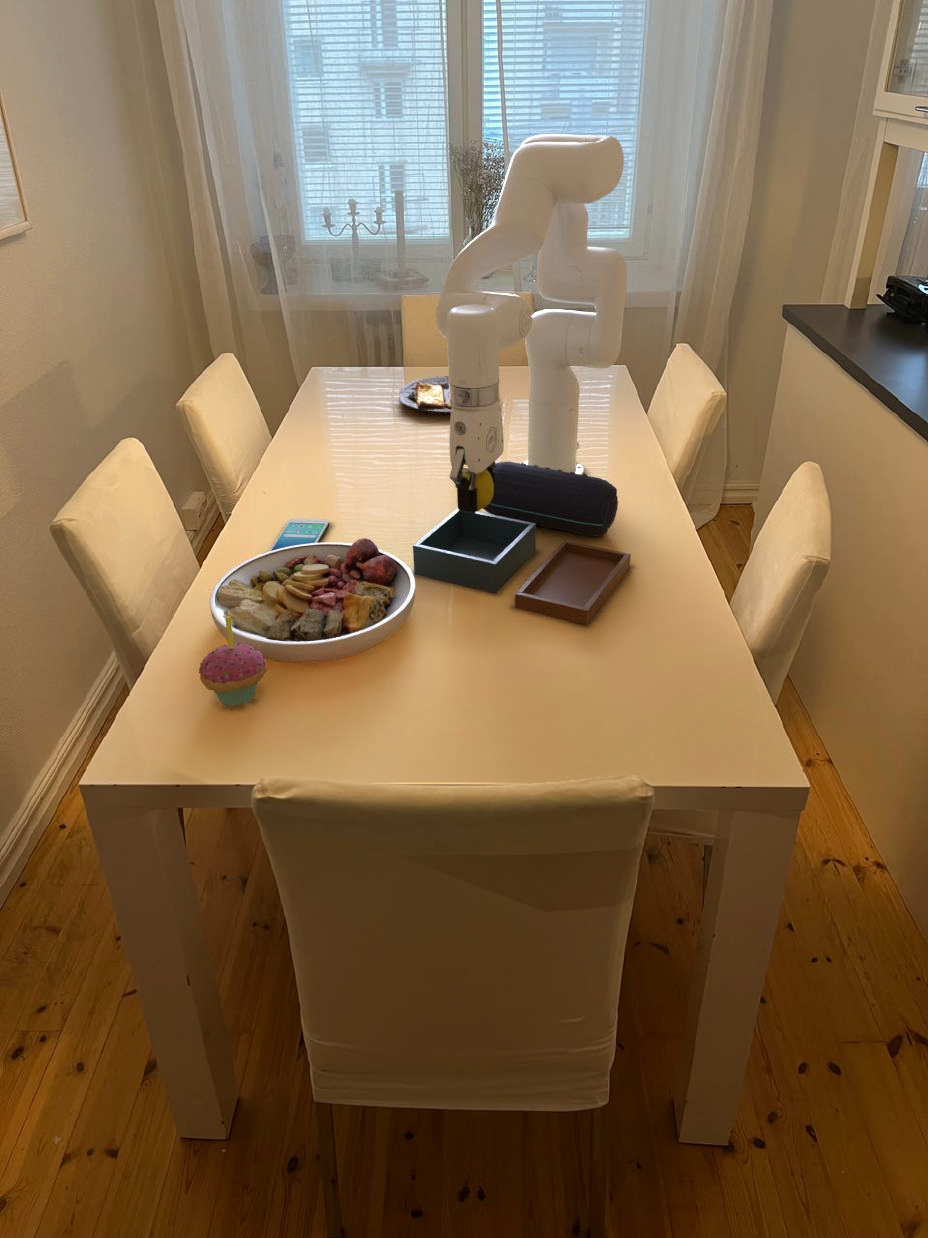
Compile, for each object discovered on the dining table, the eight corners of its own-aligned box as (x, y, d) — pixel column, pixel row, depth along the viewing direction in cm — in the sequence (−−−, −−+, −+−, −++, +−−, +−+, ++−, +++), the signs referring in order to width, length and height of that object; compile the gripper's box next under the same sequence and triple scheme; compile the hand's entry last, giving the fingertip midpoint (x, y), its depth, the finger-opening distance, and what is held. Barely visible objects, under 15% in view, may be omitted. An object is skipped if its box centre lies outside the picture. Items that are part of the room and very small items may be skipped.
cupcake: (210, 679, 126) (195, 603, 120) (273, 675, 127) (262, 599, 121) (200, 717, 119) (184, 639, 113) (267, 713, 120) (254, 635, 113)
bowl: (332, 699, 122) (326, 649, 118) (171, 636, 136) (161, 589, 132) (454, 598, 143) (453, 553, 139) (305, 553, 157) (300, 511, 153)
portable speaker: (624, 526, 164) (628, 473, 158) (604, 549, 156) (607, 495, 151) (497, 500, 174) (497, 449, 169) (472, 521, 167) (471, 469, 161)
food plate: (498, 419, 211) (498, 404, 209) (396, 420, 212) (395, 405, 210) (496, 384, 232) (496, 371, 231) (403, 386, 233) (403, 372, 231)
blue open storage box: (458, 535, 162) (457, 507, 159) (535, 551, 156) (536, 523, 153) (414, 574, 150) (412, 545, 147) (495, 594, 144) (495, 564, 142)
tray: (563, 553, 156) (563, 539, 154) (629, 567, 151) (630, 553, 150) (514, 607, 141) (514, 593, 139) (586, 625, 136) (587, 610, 135)
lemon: (490, 520, 146) (490, 473, 142) (456, 517, 147) (454, 471, 143) (496, 504, 151) (496, 458, 146) (463, 502, 152) (462, 456, 147)
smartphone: (330, 519, 166) (307, 559, 153) (330, 524, 166) (308, 563, 154) (289, 518, 167) (264, 557, 154) (290, 522, 167) (264, 561, 155)
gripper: (470, 415, 130) (473, 530, 140) (520, 378, 143) (520, 485, 153) (424, 407, 133) (430, 520, 143) (477, 372, 146) (479, 477, 156)
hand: (476, 501), depth 148 cm, fingers closed on lemon, 5 cm apart
